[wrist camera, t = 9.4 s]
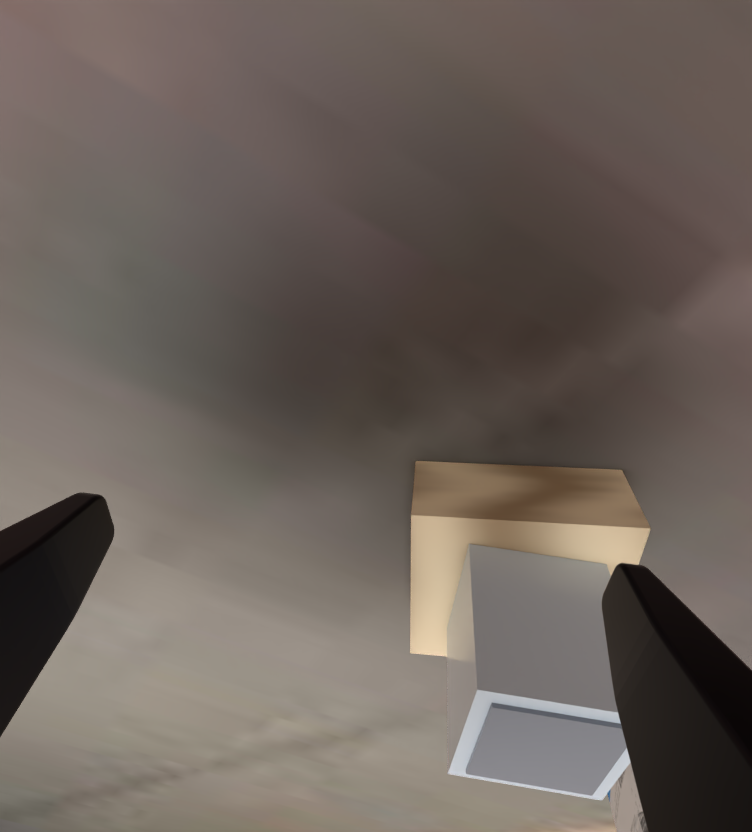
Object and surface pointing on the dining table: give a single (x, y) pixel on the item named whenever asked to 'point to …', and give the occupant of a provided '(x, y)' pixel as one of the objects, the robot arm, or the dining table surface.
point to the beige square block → (510, 527)
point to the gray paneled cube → (532, 675)
